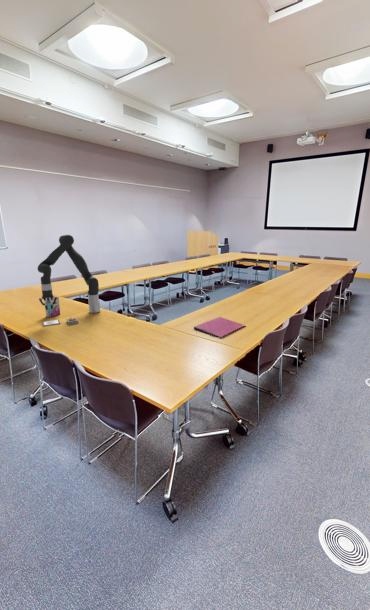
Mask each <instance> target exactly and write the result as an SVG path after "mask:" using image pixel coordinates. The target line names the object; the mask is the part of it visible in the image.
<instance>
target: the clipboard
mask: <svg viewBox="0 0 370 610" xmlns="http://www.w3.org/2000/svg"><path fill="white" fill-rule="evenodd" d="M41 324H42V327H43V328H44V327H48V326H49V327H50V326H56V325H57V326H58V325H60V324H61V322H60V319H54V320H47V321H46V320H45V321H42V322H41Z"/></svg>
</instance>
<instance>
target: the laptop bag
mask: <svg viewBox="0 0 370 610" xmlns="http://www.w3.org/2000/svg"><path fill="white" fill-rule="evenodd" d="M243 325H244V324H243ZM243 325H242V323H239V322H236V321H233V320H230V319H227V318H225V317H222V316H218V317H215V318H213V319H211V320H208V321H205V322H202V323H200V324H197V325H195V326H194V327H193V330H194V331H196V332H201V333H204V334H207V335H209V334H210V335H209V336H211V335H212V336H211V337H214V336H216V338H218V337H220V338H219V339H222V338H221V337H223V336H224V337H226V336H228V335H230V334H232V333H234V332H236V331H237V329H238V330H240V329H242V328H244V327H243ZM241 327H242V328H241ZM239 328H240V329H239ZM235 330H236V331H235ZM233 331H234V332H233ZM231 332H232V333H231ZM229 333H230V334H229ZM227 334H228V335H227ZM225 335H226V336H225ZM224 337H223V338H224Z"/></svg>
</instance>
